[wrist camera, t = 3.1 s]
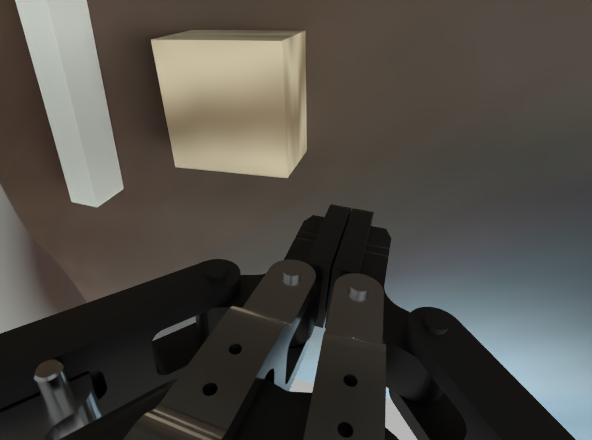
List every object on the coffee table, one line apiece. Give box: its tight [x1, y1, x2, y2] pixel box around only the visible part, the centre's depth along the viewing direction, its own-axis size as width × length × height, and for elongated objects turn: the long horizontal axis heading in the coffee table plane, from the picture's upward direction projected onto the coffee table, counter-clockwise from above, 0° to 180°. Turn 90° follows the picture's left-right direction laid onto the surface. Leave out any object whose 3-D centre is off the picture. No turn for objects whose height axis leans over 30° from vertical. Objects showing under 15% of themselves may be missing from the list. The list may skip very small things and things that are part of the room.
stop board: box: [15, 0, 124, 207], centre depth 30 cm, size 20×2×4 cm, turn 177°
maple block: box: [151, 30, 307, 178], centre depth 27 cm, size 8×8×5 cm
